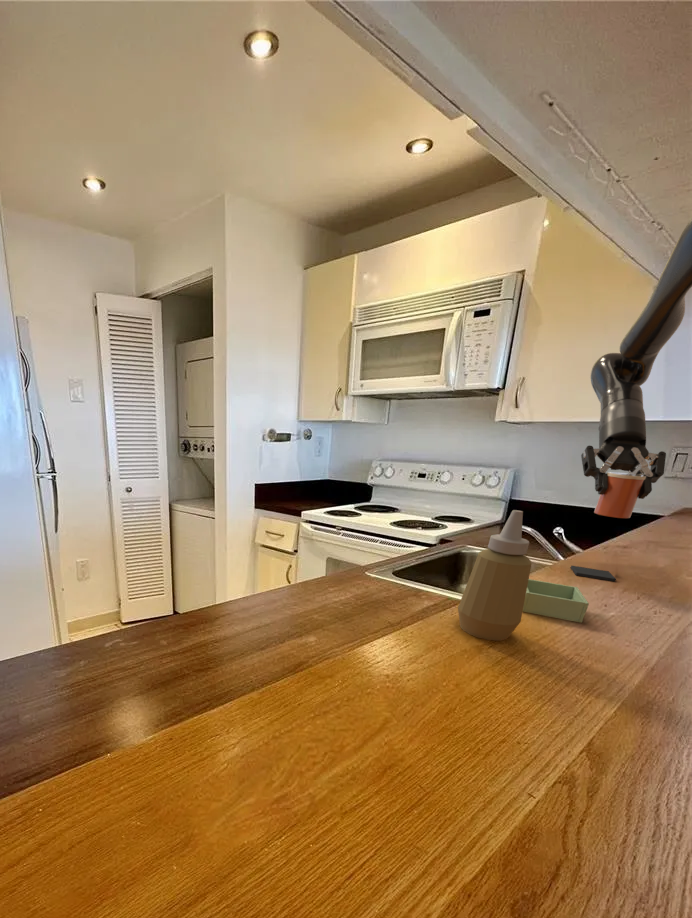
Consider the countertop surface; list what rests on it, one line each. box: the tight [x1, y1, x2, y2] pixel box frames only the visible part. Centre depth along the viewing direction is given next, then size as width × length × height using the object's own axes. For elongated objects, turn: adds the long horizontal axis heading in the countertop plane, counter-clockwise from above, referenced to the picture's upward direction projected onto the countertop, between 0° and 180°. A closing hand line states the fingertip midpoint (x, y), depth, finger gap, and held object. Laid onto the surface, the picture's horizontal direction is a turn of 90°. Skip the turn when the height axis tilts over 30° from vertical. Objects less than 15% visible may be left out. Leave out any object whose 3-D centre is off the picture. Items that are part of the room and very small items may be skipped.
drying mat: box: [570, 565, 617, 582], centre depth 101 cm, size 7×6×1 cm
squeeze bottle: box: [457, 509, 532, 642], centre depth 64 cm, size 8×8×18 cm
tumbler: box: [593, 471, 646, 519], centre depth 94 cm, size 6×6×8 cm
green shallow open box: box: [522, 578, 590, 623], centre depth 77 cm, size 8×8×4 cm
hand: (623, 493), depth 92 cm, fingers closed on tumbler, 6 cm apart
